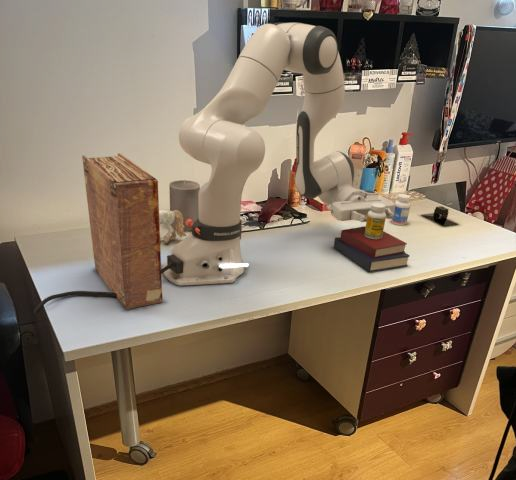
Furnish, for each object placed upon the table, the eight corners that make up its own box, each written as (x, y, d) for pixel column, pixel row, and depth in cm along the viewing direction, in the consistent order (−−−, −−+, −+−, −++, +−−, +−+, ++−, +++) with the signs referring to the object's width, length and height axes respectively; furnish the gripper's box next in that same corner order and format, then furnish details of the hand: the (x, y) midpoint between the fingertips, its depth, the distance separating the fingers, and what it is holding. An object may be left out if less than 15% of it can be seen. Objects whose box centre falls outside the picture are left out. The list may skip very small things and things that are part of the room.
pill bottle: (388, 220, 192) (393, 193, 187) (401, 219, 194) (407, 193, 189) (396, 225, 188) (401, 198, 183) (409, 225, 190) (415, 197, 184)
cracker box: (356, 210, 200) (365, 153, 189) (340, 208, 201) (348, 151, 189) (358, 200, 211) (366, 145, 200) (342, 198, 212) (350, 143, 201)
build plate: (458, 225, 193) (461, 212, 190) (443, 227, 190) (446, 214, 187) (435, 213, 202) (438, 201, 200) (420, 215, 199) (422, 203, 197)
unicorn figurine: (118, 241, 162) (114, 198, 154) (179, 234, 169) (178, 192, 162) (124, 250, 156) (120, 205, 149) (187, 242, 164) (186, 199, 157)
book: (95, 269, 144) (81, 154, 128) (128, 263, 149) (119, 152, 132) (126, 310, 126) (115, 183, 110) (163, 302, 131) (157, 179, 114)
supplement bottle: (377, 233, 162) (383, 201, 157) (385, 239, 158) (391, 207, 153) (360, 233, 161) (366, 202, 155) (368, 240, 156) (374, 208, 151)
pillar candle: (173, 220, 180) (171, 175, 172) (201, 222, 180) (201, 177, 172) (167, 230, 172) (166, 183, 164) (198, 232, 172) (197, 185, 164)
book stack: (368, 272, 153) (372, 251, 149) (333, 248, 167) (336, 228, 164) (407, 266, 158) (412, 245, 155) (370, 243, 172) (373, 223, 169)
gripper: (324, 195, 160) (350, 210, 149) (380, 190, 168) (408, 204, 157) (322, 216, 163) (346, 231, 153) (376, 210, 171) (403, 225, 161)
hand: (378, 217), depth 155 cm, fingers open, 8 cm apart
